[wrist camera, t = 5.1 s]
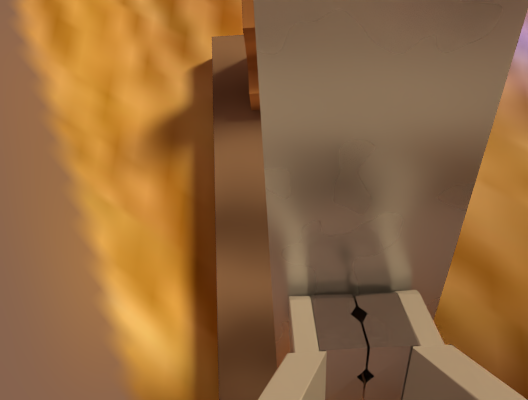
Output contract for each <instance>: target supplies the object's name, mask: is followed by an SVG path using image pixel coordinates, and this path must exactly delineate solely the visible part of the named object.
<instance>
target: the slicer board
mask: <svg viewBox="0 0 528 400" xmlns="http://www.w3.org/2000/svg"><path fill="white" fill-rule="evenodd" d="M242 18H243V33H244V35H234V36H218V37H212V65H213V116H214V168H215V219H216V271H217V322H218V373H219V400H258V398H259V397H260V395H261V394H262V392H263V391H264V389H265V387H266V386H267V384H268V383H269V381H270V380H271V378H272V376H273V375H274V373H275V372H276V370H277V360H276V344H275V329H274V313H273V298H272V282H271V267H270V251H269V236H268V220H267V205H266V189H265V174H264V158H263V143H262V127H261V112H260V96H259V81H258V65H257V50H256V34H255V19H254V3H253V0H242Z"/></svg>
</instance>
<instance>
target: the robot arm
mask: <svg viewBox="0 0 528 400" xmlns="http://www.w3.org/2000/svg"><path fill="white" fill-rule="evenodd" d="M288 309H289V339H290V353H287V354H286V356H285V358H284V359H283V361H282V362H281V364H280V365H279V367H278V369H277V370H276V372H275V373H274V375H273V376H272V378H271V380H270V381H269V383H268V384H267V386H266V387H265V389H264V391H263V392H262V394H261V395H260V397H259V398H258V400H362V396H363V400H527V399H526V398H524V397H523V396H522V395H520V394H519V393H517V392H516V391H515V390H513V389H512V388H511V387H509V386H508V385H506V384H505V383H504V382H502V381H501V380H500V379H498V378H497V377H495V376H494V375H493V374H491V373H490V372H489V371H487V370H486V369H484V368H483V367H482V366H480V365H479V364H478V363H476V362H475V361H473V360H472V359H471V358H469V357H468V356H467V355H465V354H464V353H462V352H461V351H460V350H458V349H457V348H456V347H454V346H453V345H445V344H444V342H443V340H442V338H441V336H440V334H439V332H438V330H437V327H436V325H435V323H434V321H433V319H432V317H431V315H430V313H429V311H428V309H427V307H426V305H425V303H424V301H423V299H422V297H421V295H420V293H419V292H418V291H417V290H405V291H395V292H393V291H390V292H374V293H358V294H342V295H310V297H309V296H289V298H288Z"/></svg>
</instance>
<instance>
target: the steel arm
mask: <svg viewBox="0 0 528 400" xmlns="http://www.w3.org/2000/svg"><path fill="white" fill-rule="evenodd" d="M253 3H254V19H255V34H256V50H257V65H258V81H259V96H260V112H261V127H262V143H263V158H264V174H265V189H266V205H267V220H268V236H269V251H270V267H271V282H272V298H273V313H274V329H275V344H276V360H277V369H278V367H279V365H280V364H281V362H282V361H283V359H284V358H285V356H286V354H287V353H290V339H289V309H288V298H289V296H309V297H310V295H342V294H358V293H374V292H390V291H393V292H395V291H405V290H417V291H418V292H419V293H420V295H421V297H422V299H423V301H424V303H425V305H426V307H427V309H428V311H429V313H430V315H431V317H432V319H433V320H434V317H435V313H436V310H437V307H438V303H439V300H440V297H441V294H442V290H443V287H444V284H445V280H446V277H447V274H448V270H449V267H450V264H451V261H452V257H453V254H454V251H455V247H456V244H457V241H458V237H459V234H460V231H461V228H462V224H463V221H464V218H465V214H466V211H467V208H468V204H469V201H470V198H471V194H472V191H473V188H474V185H475V181H476V178H477V175H478V171H479V168H480V165H481V161H482V158H483V155H484V152H485V148H486V145H487V142H488V138H489V135H490V132H491V128H492V125H493V122H494V119H495V115H496V112H497V109H498V105H499V102H500V99H501V95H502V92H503V89H504V86H505V82H506V79H507V76H508V72H509V69H510V66H511V62H512V59H513V56H514V52H515V49H516V46H517V43H518V39H519V36H520V33H521V29H522V26H523V23H524V19H525V16H526V13H527V10H528V0H253ZM362 400H363V396H362Z"/></svg>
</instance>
